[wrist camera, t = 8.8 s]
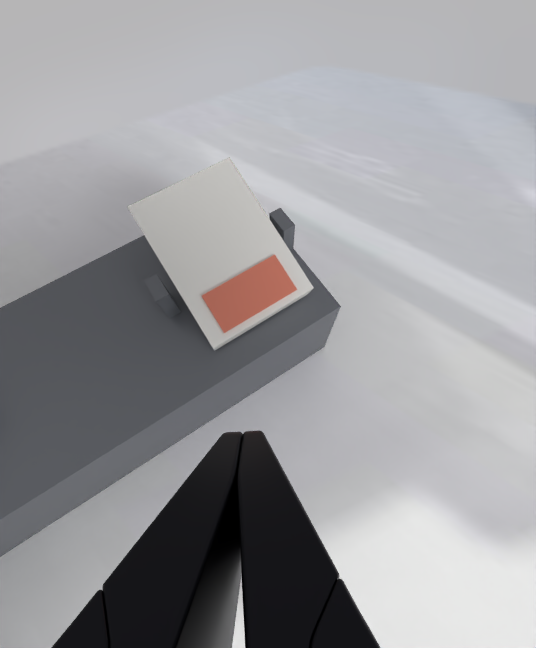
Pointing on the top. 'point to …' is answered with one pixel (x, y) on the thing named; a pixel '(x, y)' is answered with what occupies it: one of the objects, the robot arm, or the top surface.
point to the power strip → (123, 377)
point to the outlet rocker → (221, 251)
